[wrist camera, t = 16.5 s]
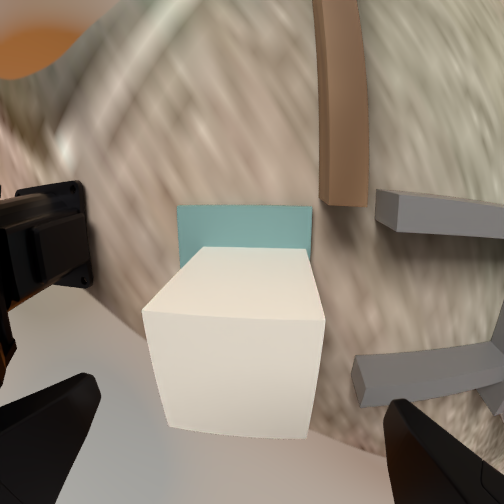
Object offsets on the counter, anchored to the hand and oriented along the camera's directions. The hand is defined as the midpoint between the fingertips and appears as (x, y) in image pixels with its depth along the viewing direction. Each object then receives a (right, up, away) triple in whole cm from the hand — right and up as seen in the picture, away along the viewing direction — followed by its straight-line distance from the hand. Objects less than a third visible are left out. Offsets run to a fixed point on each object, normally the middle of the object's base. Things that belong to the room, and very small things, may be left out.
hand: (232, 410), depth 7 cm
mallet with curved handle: (+4, +17, +3) cm, 18 cm away
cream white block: (+1, +2, +8) cm, 8 cm away
